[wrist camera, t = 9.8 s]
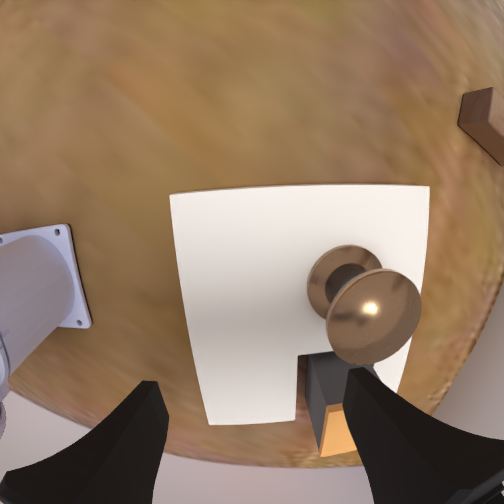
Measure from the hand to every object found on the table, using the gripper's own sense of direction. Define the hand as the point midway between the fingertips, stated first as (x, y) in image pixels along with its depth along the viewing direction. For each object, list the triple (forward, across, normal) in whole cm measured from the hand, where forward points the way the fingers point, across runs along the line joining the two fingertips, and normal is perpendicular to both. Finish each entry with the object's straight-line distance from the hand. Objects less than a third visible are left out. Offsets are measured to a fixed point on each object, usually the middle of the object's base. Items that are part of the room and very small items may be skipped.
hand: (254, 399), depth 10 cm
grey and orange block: (+10, -6, +7) cm, 13 cm away
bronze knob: (+8, -6, -1) cm, 10 cm away
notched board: (+9, -4, +2) cm, 10 cm away
